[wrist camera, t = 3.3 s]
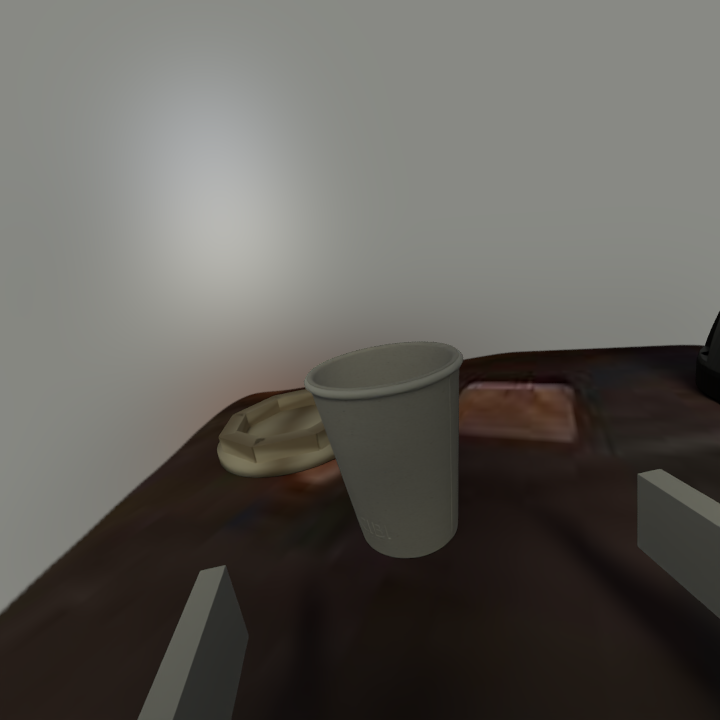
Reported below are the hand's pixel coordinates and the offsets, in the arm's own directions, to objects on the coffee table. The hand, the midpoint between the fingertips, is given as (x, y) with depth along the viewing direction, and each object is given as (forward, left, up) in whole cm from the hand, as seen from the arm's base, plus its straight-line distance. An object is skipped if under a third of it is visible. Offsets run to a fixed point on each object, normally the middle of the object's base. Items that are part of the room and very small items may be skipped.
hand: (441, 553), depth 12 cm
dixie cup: (0, -9, -6) cm, 11 cm away
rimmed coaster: (+8, -25, -6) cm, 27 cm away
